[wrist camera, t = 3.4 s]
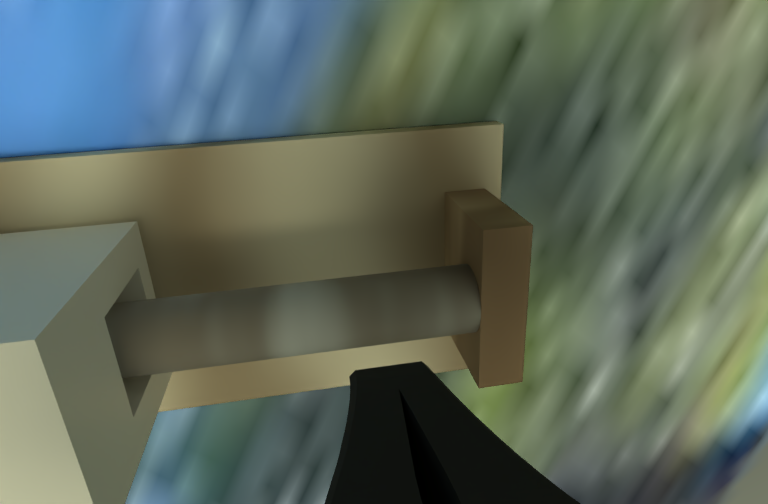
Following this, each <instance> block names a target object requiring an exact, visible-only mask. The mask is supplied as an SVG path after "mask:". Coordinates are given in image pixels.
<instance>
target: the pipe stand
mask: <svg viewBox="0 0 768 504" xmlns="http://www.w3.org/2000/svg"><path fill="white" fill-rule="evenodd" d="M503 128H504V124H502V123H500V122H497V121H490V122H477V123H464V124H450V125H437V126H424V127H410V128H397V129H383V130H370V131H357V132H343V133H330V134H317V135H303V136H290V137H277V138H263V139H250V140H236V141H223V142H210V143H196V144H183V145H170V146H156V147H143V148H130V149H116V150H103V151H89V152H76V153H63V154H49V155H36V156H23V157H9V158H0V234H6V233H16V232H27V231H38V230H49V229H60V228H70V227H81V226H92V225H103V224H113V223H124V222H135V221H137V223H138V227H139V231H140V235H141V240H142V244H143V248H144V252H145V256H146V260H147V264H148V268H149V272H150V276H151V281H152V285H153V289H154V293H155V297H156V298H155V299H146V300H137V301H128V302H119V303H114V304H113V306H112V307H111V308H110V310H109V311H108V313H107V314H106V316H105V317H104V318H105V321H106V325H107V328H108V332H109V335H110V338H111V342H112V345H113V349H114V352H115V356H116V359H117V362H118V366H119V369H120V373H121V376H122V378H130V377H138V376H145V375H153V374H161V373H168V372H172V375H171V378H170V380H169V383H168V386H167V389H166V391H165V394H164V397H163V400H162V402H161V405H160V408H159V411H158V412H161V411H169V410H176V409H183V408H190V407H197V406H204V405H211V404H219V403H226V402H233V401H240V400H247V399H254V398H261V397H269V396H276V395H283V394H290V393H297V392H304V391H312V390H319V389H326V388H333V387H340V386H347V385H350V378H349V376H350V375H351V374H352V373H353V372H354V371H355V370H360V369H368V368H375V367H382V366H390V365H397V364H404V363H412V362H419V361H422V362H423V363H425V364H426V365H427V366H428V367H429V368H430V369H431V370H432V371H433V373H440V372H447V371H454V370H462V369H469V371H470V373H471V375H472V376H473V378H474V380H475V382H476V384H477V386H478V388H484V387H490V386H497V385H504V384H511V383H518V382H522V381H523V366H524V351H525V336H526V322H527V307H528V292H529V277H530V263H531V248H532V233H533V225H532V224H531V223H529V222H528V221H527V220H525V219H524V218H523V217H522V216H520V215H519V214H518V213H516V212H515V211H514V210H512V209H511V208H510V207H508V206H507V205H506V204H504V203H503V202H502V201H501V177H502V153H503Z"/></svg>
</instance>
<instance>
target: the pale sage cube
mask: <svg viewBox="0 0 768 504" xmlns="http://www.w3.org/2000/svg"><path fill="white" fill-rule="evenodd" d="M155 298H156V297H155V293H154V289H153V285H152V281H151V276H150V272H149V268H148V264H147V260H146V256H145V252H144V248H143V244H142V240H141V235H140V231H139V227H138V223H137V221H135V222H124V223H113V224H103V225H92V226H81V227H70V228H60V229H49V230H38V231H27V232H16V233H6V234H0V504H125V501H126V499H127V496H128V493H129V490H130V488H131V485H132V482H133V479H134V477H135V474H136V471H137V468H138V466H139V463H140V460H141V457H142V455H143V452H144V449H145V446H146V444H147V441H148V438H149V435H150V433H151V430H152V427H153V424H154V422H155V419H156V416H157V413H158V411H159V408H160V405H161V402H162V400H163V397H164V394H165V391H166V389H167V386H168V383H169V380H170V378H171V375H172V372H168V373H161V374H153V375H145V376H138V377H130V378H122V376H121V373H120V369H119V366H118V362H117V359H116V356H115V352H114V349H113V345H112V342H111V338H110V335H109V332H108V328H107V325H106V321H105V318H104V317H105V316H106V314H107V313H108V311H109V310H110V308H111V307H112V306H113V304H114V303H119V302H128V301H137V300H146V299H155Z"/></svg>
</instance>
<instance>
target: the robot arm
mask: <svg viewBox="0 0 768 504" xmlns="http://www.w3.org/2000/svg"><path fill="white" fill-rule="evenodd" d="M349 378H350V404H349V411H348V417H347V423H346V428H345V432H344V437H343V441H342V445H341V450H340V454H339V458H338V462H337V465H336V469H335V472H334V475H333V478H332V481H331V485H330V488H329V491H328V494H327V498H326V501H325V504H580V503H579V502H577V501H576V500H575V499H573V498H572V497H570V496H569V495H568V494H566V493H565V492H564V491H562V490H561V489H560V488H559V487H557V486H556V485H555V484H553V483H552V482H551V481H550V480H548V479H547V478H546V477H544V476H543V475H542V474H541V473H539V472H538V471H537V470H536V469H535V468H533V467H532V466H531V465H530V464H529V463H527V462H526V461H525V460H524V459H523V458H521V457H520V456H519V455H518V454H517V453H515V452H514V451H513V450H512V449H511V448H510V447H509V446H507V445H506V444H505V443H504V442H503V441H502V440H501V439H500V438H499V437H497V436H496V435H495V434H494V433H493V432H492V431H491V430H490V429H489V428H488V427H487V426H486V425H485V424H484V423H482V422H481V421H480V420H479V419H478V418H477V417H476V416H475V415H474V414H473V413H472V412H471V411H470V410H469V409H468V408H467V407H466V406H465V405H464V404H463V403H462V402H461V401H460V400H459V399H458V398H457V397H456V396H455V395H454V394H453V393H452V392H451V391H450V390H449V389H448V388H447V387H446V386H445V384H444V383H443V382H442V381H441V380H440V379H439V378H438V377H437V376H436V375H435V374H434V373H433V371H432V370H431V369H430V368H429V367H428V366H427V365H426V364H425V363H423V362H422V361H419V362H412V363H404V364H397V365H390V366H382V367H375V368H368V369H360V370H355V371H354V372H353V373H352V374H351V375H350V376H349Z"/></svg>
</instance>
